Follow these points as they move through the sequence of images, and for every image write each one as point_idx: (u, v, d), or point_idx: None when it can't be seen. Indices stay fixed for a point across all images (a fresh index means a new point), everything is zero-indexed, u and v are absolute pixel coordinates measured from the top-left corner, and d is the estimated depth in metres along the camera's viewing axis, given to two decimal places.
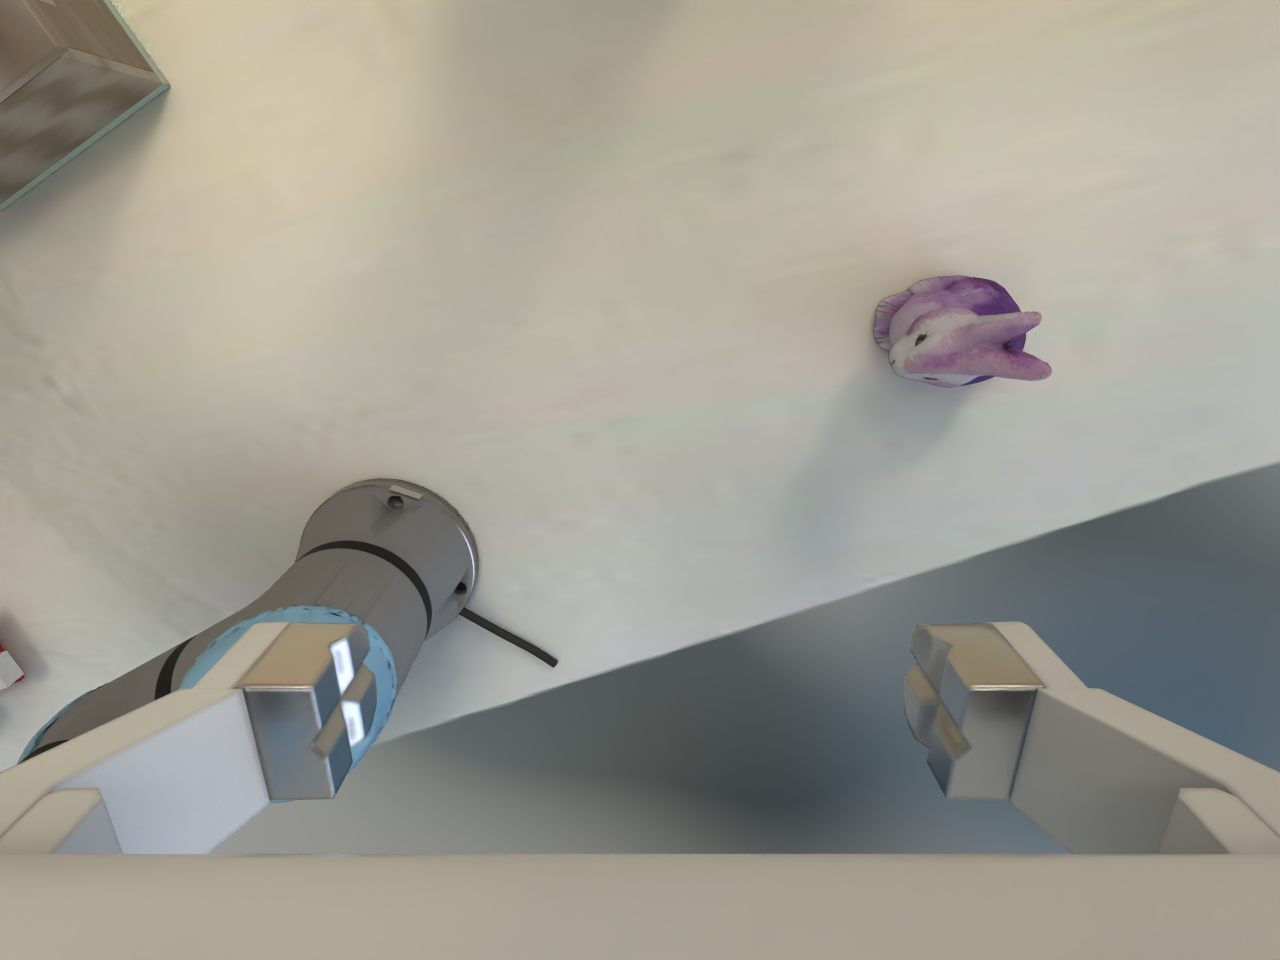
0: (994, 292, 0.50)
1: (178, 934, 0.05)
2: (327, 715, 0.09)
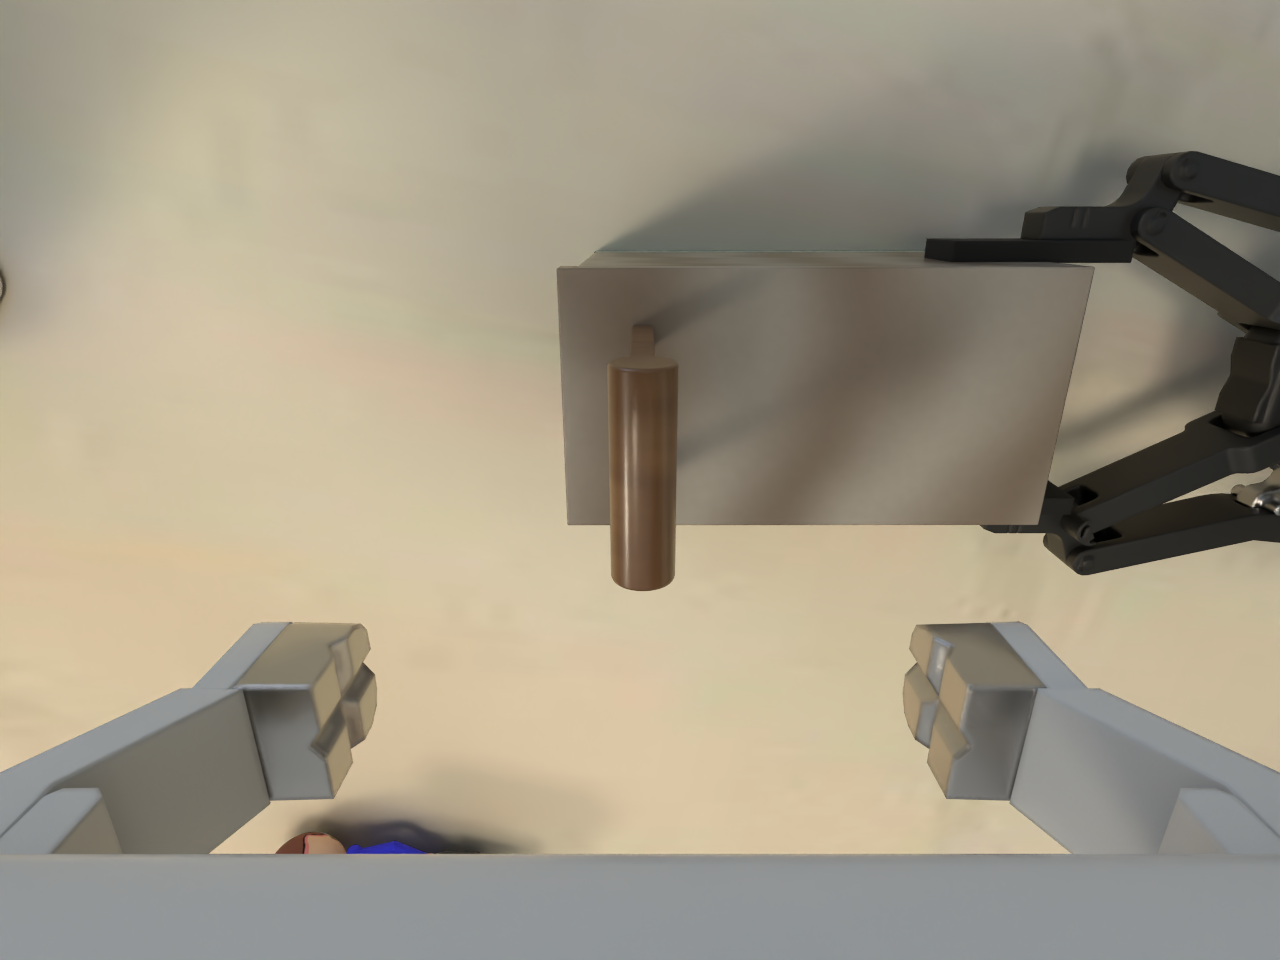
0: None
1: (178, 934, 0.05)
2: (327, 715, 0.09)
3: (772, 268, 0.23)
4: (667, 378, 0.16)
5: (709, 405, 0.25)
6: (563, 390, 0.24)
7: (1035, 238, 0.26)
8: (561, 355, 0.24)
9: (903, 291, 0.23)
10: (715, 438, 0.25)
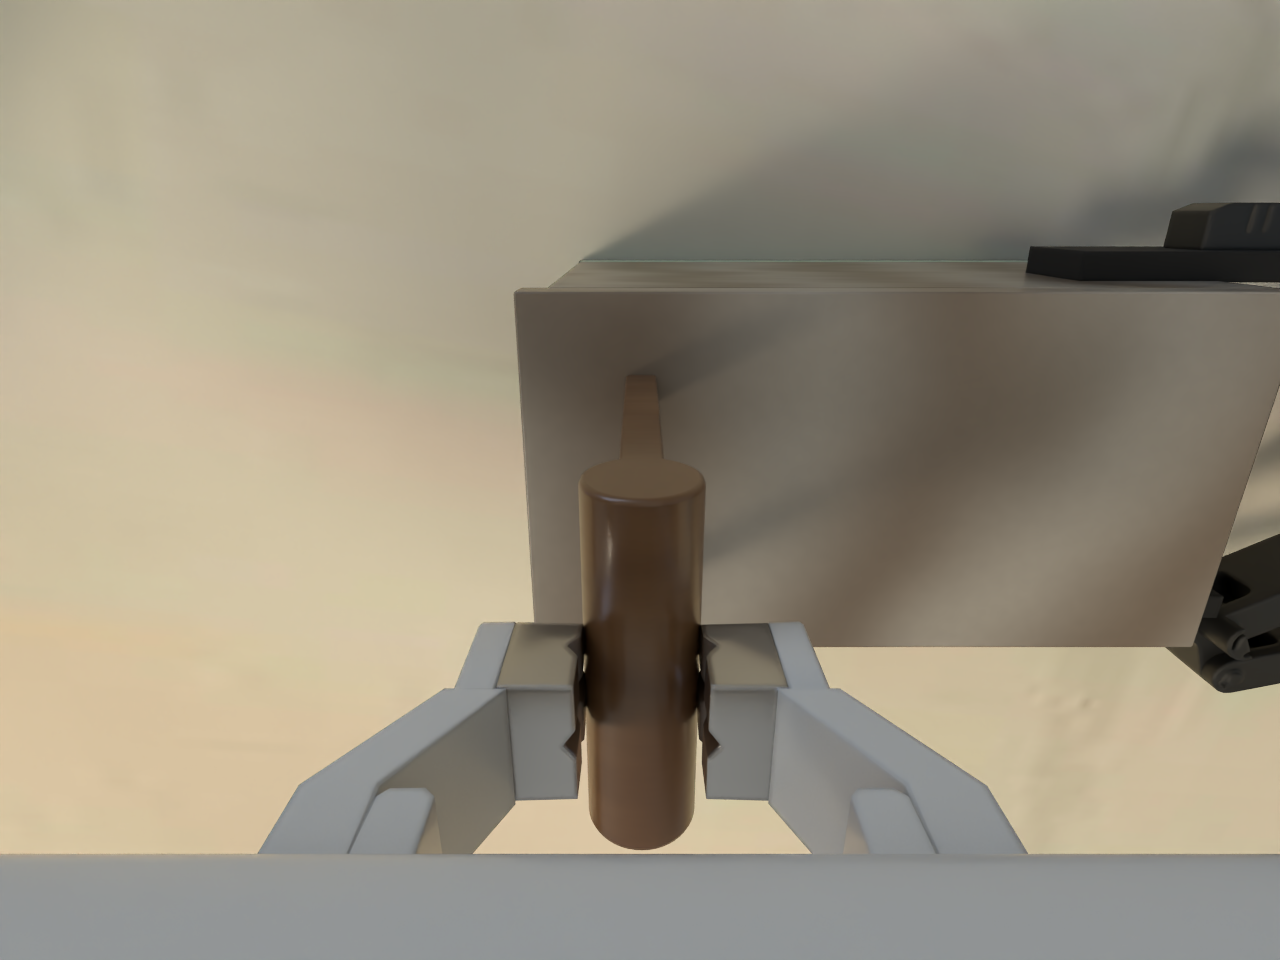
0: None
1: (178, 934, 0.05)
2: (576, 715, 0.09)
3: (833, 293, 0.15)
4: (687, 513, 0.09)
5: (737, 486, 0.17)
6: (526, 466, 0.17)
7: (1191, 247, 0.19)
8: (523, 417, 0.17)
9: (1025, 326, 0.16)
10: (744, 532, 0.18)
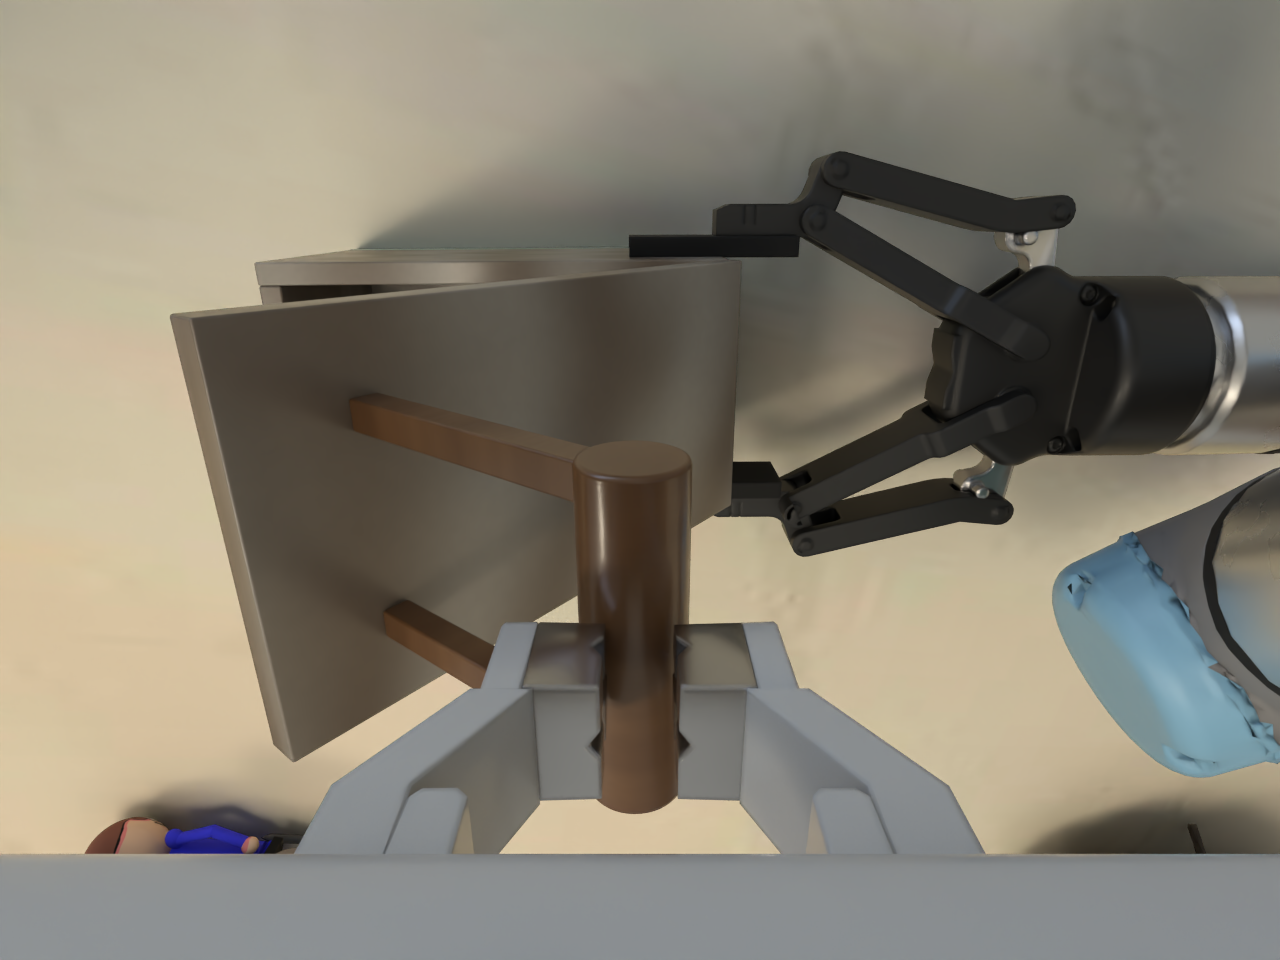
0: None
1: (178, 934, 0.05)
2: (601, 715, 0.09)
3: (514, 285, 0.17)
4: None
5: (469, 488, 0.17)
6: (245, 542, 0.13)
7: (715, 234, 0.27)
8: (229, 481, 0.13)
9: (631, 299, 0.20)
10: (481, 530, 0.18)
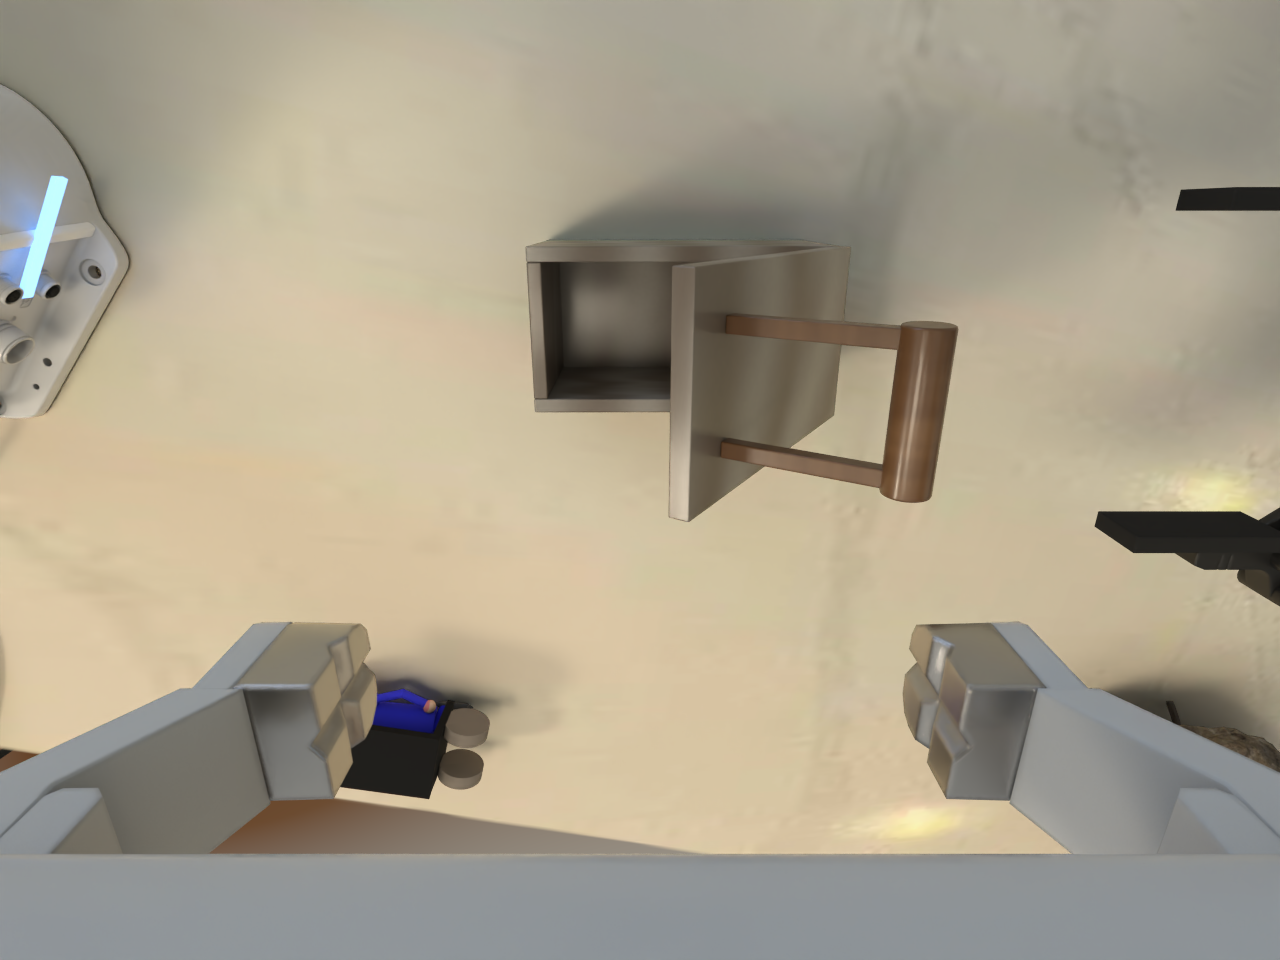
0: None
1: (178, 934, 0.05)
2: (327, 715, 0.09)
3: (776, 256, 0.29)
4: None
5: (751, 376, 0.29)
6: (693, 387, 0.25)
7: None
8: (693, 353, 0.24)
9: (810, 269, 0.33)
10: (751, 403, 0.30)
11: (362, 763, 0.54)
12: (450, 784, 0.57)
